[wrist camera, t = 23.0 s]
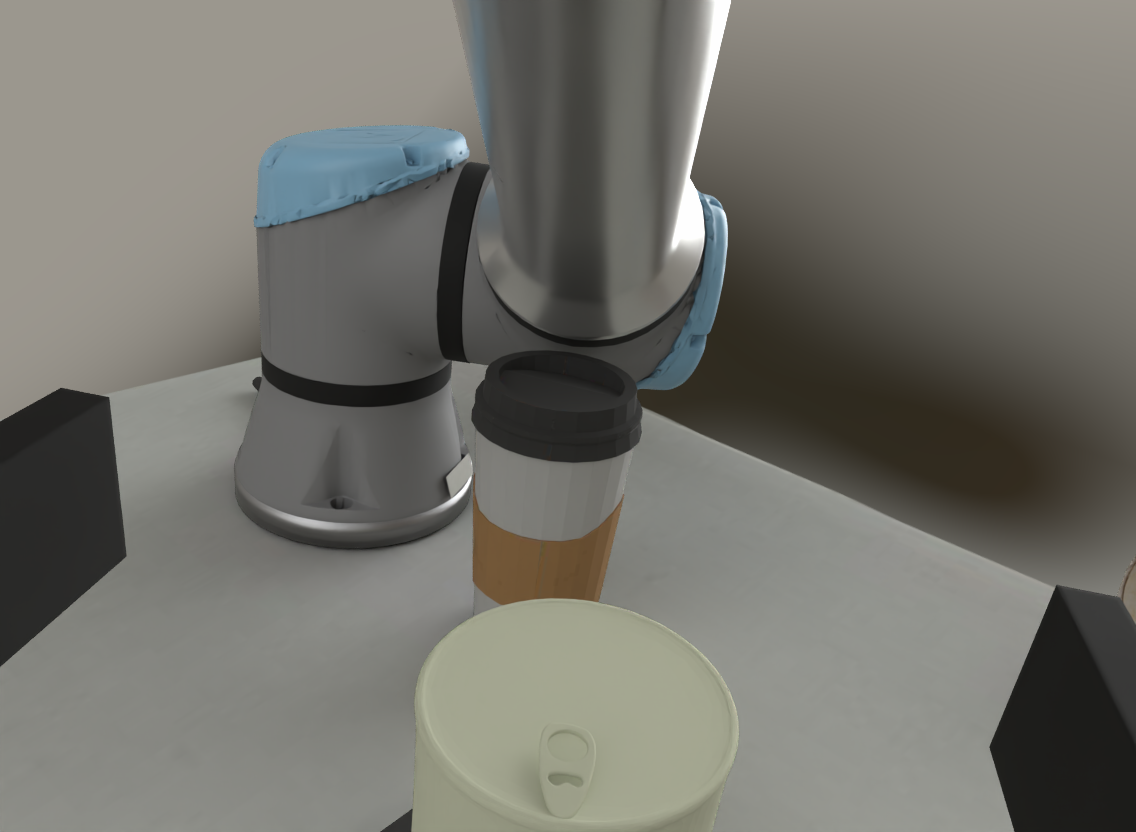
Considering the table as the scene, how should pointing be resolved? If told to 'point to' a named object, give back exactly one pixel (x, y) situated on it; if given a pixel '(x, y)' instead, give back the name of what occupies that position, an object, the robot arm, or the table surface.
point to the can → (569, 725)
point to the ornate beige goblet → (1129, 589)
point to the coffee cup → (549, 475)
